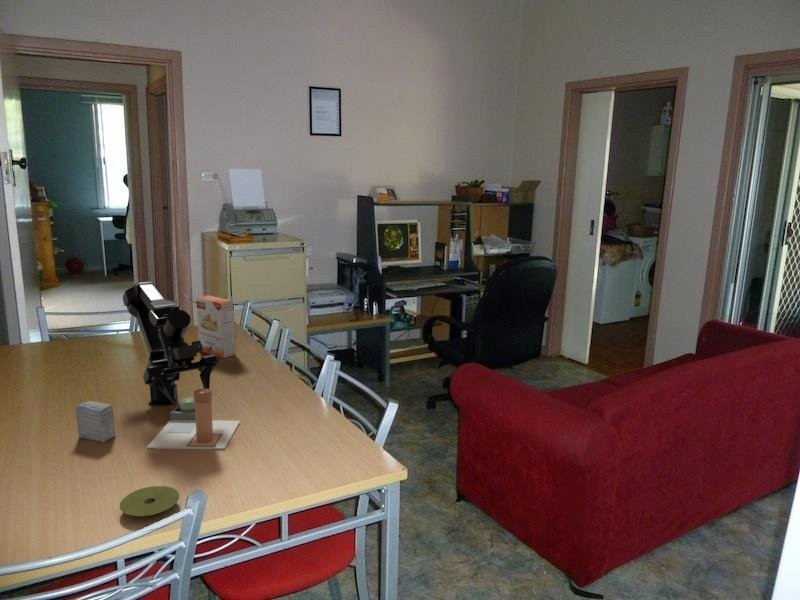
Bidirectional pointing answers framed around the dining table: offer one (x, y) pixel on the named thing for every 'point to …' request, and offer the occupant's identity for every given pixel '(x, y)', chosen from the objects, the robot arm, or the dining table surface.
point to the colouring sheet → (193, 435)
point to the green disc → (149, 500)
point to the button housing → (181, 414)
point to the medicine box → (95, 421)
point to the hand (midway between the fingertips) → (191, 397)
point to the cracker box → (216, 326)
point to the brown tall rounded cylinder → (203, 415)
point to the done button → (187, 405)
